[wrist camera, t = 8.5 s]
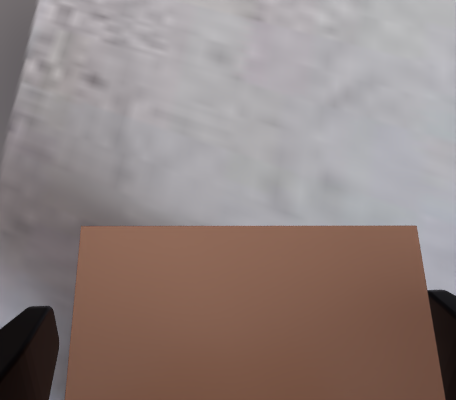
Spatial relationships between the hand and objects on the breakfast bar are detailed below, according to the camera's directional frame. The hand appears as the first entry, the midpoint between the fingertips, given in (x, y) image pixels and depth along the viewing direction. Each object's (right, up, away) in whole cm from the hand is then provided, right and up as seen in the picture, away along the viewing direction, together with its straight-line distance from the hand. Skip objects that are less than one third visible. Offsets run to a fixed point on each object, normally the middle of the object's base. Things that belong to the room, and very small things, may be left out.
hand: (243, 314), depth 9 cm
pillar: (-1, -4, +8) cm, 9 cm away
